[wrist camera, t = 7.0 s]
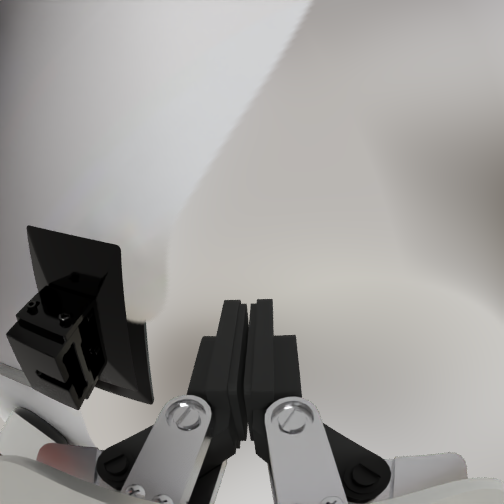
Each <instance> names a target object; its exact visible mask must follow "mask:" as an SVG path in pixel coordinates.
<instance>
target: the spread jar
mask: <svg viewBox="0 0 504 504" xmlns="http://www.w3.org/2000/svg"><path fill="white" fill-rule="evenodd" d="M47 443H59V444H66V445H68V443H67V441H66V439H65V438H64V437H63V436H62V435H61V434H60V433H59V432H58V431H57V430H56V429H55V428H54V427H52V426H51V425H50V424H49V423H47V422H46V421H45V420H43V419H42V418H40V417H39V416H37V415H36V414H34V413H33V412H31V411H29V410H27V409H25V408H22V407H17V408H15V409H14V410H13V412H12V413H11V415H10V416H9V418H8V419H7V421H6V423H5V425H4V427H3V428H2V430H1V432H0V456H3V455H16V456H22V457H26V458H30V459H33V460H36V459H37V455H38V452H39V450H40V448H41V447H42V446H43V445H45V444H47Z"/></svg>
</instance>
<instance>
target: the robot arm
mask: <svg viewBox="0 0 504 504" xmlns="http://www.w3.org/2000/svg"><path fill="white" fill-rule="evenodd" d="M248 425H249V431H250V437H251V441H254V443H255V450H256V454H257V455H258V456H259V457H260V458H262V459H263V460H264V461H265V462H267V463H268V470H269V475H270V482H271V488H272V494H273V500H274V504H504V482H503V481H501V480H498V479H494V478H471V479H468V478H467V466H466V462H465V460H464V459H463V457H462V456H461V455H459V454H457V453H450V452H448V453H441V454H431V455H421V456H420V455H419V456H406V457H405V456H403V457H395V458H394V459H382V458H381V457H380V456H378V455H376V454H374V453H372V452H371V451H369V450H367V449H365V448H364V447H362V446H360V445H358V444H356V443H355V442H353V441H351V440H350V439H348V438H346V437H345V436H343V435H341V434H340V433H338V432H336V431H335V430H333V429H332V428H330V427H328V426H327V425H325V424H324V423H323V422H322V420H321V416H320V413H319V411H318V409H317V407H316V406H315V405H314V404H313V403H312V402H311V401H309V400H306V399H304V398H302V394H301V383H300V372H299V362H298V353H297V343H296V336H295V335H283V336H274V335H273V301H272V299H258V300H257V304H251V310H250V321H249V324H248V313H247V305H246V304H241V301H240V300H225V301H224V304H223V308H222V313H221V318H220V322H219V327H218V331H217V336H204V337H203V338H202V340H201V343H200V347H199V351H198V354H197V358H196V362H195V365H194V369H193V373H192V376H191V380H190V384H189V388H188V392H187V395H184V396H178V397H176V398H173V399H171V400H170V401H169V402H167V403H166V404H165V406H164V407H163V408H162V410H161V412H160V414H159V416H158V418H157V420H156V422H155V424H154V425H152V426H150V427H148V428H147V429H145V430H143V431H141V432H139V433H137V434H135V435H133V436H131V437H129V438H127V439H125V440H123V441H121V442H119V443H117V444H115V445H113V446H111V447H109V448H107V449H106V450H99V449H98V448H94V447H83V446H74V445H66V444H59V443H47V444H45V445H43V446H42V447H41V448H40V450H39V452H38V455H37V459H36V460H33V459H30V458H26V457H22V456H16V455H3V456H0V504H214V502H215V499H216V496H217V493H218V490H219V487H220V484H221V480H222V477H223V474H224V471H225V467H226V464H227V459H228V458H229V457H231V456H232V455H234V454H235V453H236V448H240V441H243V440H244V441H246V438H247V426H248Z"/></svg>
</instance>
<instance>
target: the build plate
mask: <svg viewBox="0 0 504 504" xmlns="http://www.w3.org/2000/svg"><path fill="white" fill-rule="evenodd" d="M27 235H28V242H29V248H30V254H31V260H32V265H33V270H34V275H35V280H36V284H37V288H38V293H37V294H36V295H35V296H34V297H33V298H32V299H31V300H30V301H29V302H28V303H27V304H26V305H25V306H24V307H23V308H22V309H21V310H20V311H19V312H18V313H17V314H16V318H17V322H16V323H15V325H14V326H13V327H12V328H11V329H10V330H9V331H8V332H7V333H6V336H7V338H8V340H9V343H10V345H11V347H12V349H13V352H14V354H15V356H16V358H17V360H18V362H19V364H20V366H21V368H22V370H23V372H24V374H25V376H26V378H27V379H28V381H29V383H30V385H31V387H32V388H33V389H35V390H37V391H38V392H40V393H42V394H44V395H46V396H48V397H50V398H52V399H54V400H56V401H59V402H61V403H63V404H65V405H67V406H69V407H72V408H74V409H76V410H79V409H80V407H81V405H82V403H83V401H84V399H88V398H89V396H90V394H91V392H92V390H93V388H94V387H96V388H99V389H102V390H105V391H108V392H110V393H113V394H116V395H120V396H123V397H126V398H129V399H132V400H136V401H139V402H143V403H146V404H150V405H152V404H153V402H154V395H153V387H152V379H151V371H150V362H149V352H148V341H147V329H146V322H135V321H130V320H128V319H126V311H125V301H124V291H123V279H122V265H121V249H120V247H119V246H118V245H115V244H110V243H105V242H101V241H96V240H91V239H87V238H82V237H78V236H73V235H69V234H64V233H60V232H55V231H51V230H46V229H42V228H38V227H33V226H29V225H28V226H27Z"/></svg>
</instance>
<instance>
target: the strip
mask: <svg viewBox="0 0 504 504" xmlns="http://www.w3.org/2000/svg"><path fill="white" fill-rule="evenodd" d="M0 374H1V375H4V376H6V377H8V378H10V379H12V380H15V381H17V382H20V383H22V384H24V385H27V386H29V387H31V385H30V383H29V381H28V379H27V378H26V376H25V374H24V372H23V371H20V370H17V369H15V368H12V367H10V366H7V365H5V364H2V363H0Z"/></svg>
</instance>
